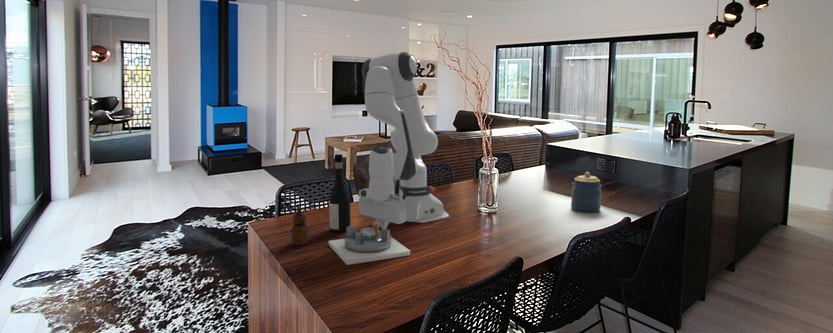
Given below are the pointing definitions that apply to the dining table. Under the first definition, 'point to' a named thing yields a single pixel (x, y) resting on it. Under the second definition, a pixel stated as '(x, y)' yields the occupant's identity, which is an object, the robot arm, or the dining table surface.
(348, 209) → the wine bottle
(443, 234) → the dining table surface
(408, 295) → the dining table surface
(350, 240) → the lathe chuck
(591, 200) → the canister
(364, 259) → the base plate
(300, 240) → the wooden figurine
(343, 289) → the dining table surface
